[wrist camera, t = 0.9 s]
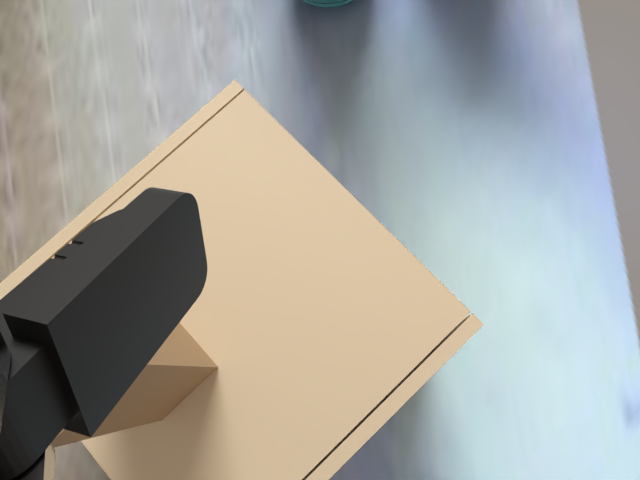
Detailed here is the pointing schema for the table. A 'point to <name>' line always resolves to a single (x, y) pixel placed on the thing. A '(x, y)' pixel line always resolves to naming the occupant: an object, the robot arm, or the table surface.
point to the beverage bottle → (327, 3)
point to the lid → (269, 314)
